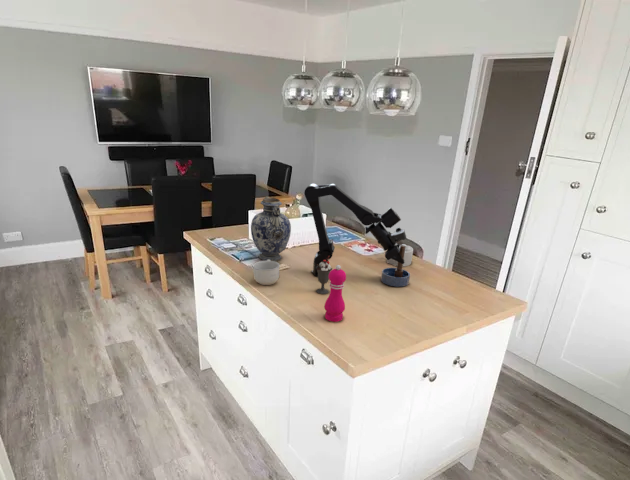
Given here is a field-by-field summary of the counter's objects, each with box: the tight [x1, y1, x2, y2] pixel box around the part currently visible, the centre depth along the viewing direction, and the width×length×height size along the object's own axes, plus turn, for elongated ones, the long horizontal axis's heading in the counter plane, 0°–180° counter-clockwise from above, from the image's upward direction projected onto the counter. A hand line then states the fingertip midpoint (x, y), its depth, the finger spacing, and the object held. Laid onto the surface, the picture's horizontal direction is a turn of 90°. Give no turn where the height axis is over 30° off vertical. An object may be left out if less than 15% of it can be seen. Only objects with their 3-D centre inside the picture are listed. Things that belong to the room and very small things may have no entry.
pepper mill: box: [324, 264, 347, 323], centre depth 144 cm, size 7×7×20 cm
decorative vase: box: [250, 195, 292, 262], centre depth 196 cm, size 21×19×28 cm
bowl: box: [380, 267, 411, 288], centre depth 183 cm, size 12×12×4 cm
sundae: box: [316, 256, 333, 295], centre depth 166 cm, size 7×7×15 cm
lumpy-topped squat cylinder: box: [386, 243, 414, 268], centre depth 207 cm, size 10×13×9 cm
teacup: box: [252, 260, 280, 286], centre depth 173 cm, size 14×11×8 cm
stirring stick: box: [394, 244, 406, 277], centre depth 180 cm, size 4×4×14 cm
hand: (403, 262), depth 180 cm, fingers closed on stirring stick, 2 cm apart
